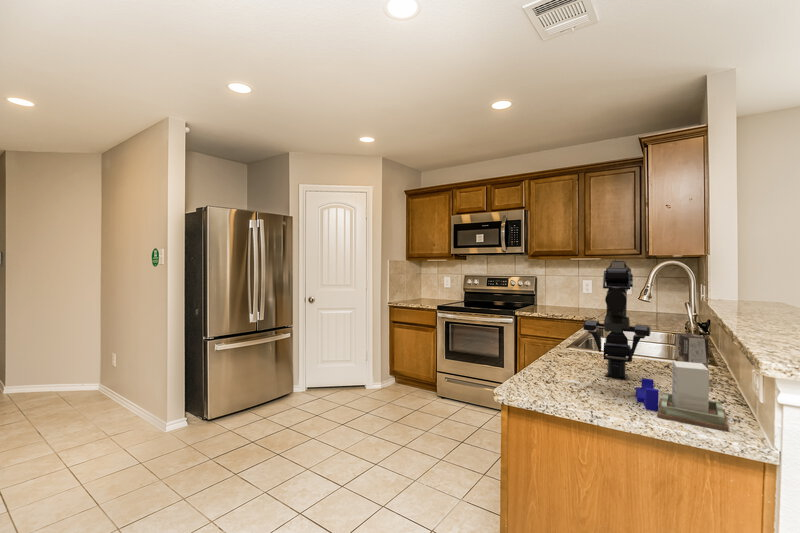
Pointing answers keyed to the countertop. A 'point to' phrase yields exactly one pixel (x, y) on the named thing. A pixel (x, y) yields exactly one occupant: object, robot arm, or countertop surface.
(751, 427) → the countertop surface
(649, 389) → the cable clip
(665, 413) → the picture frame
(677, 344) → the coffee box
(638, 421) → the countertop surface
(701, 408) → the supplement box
